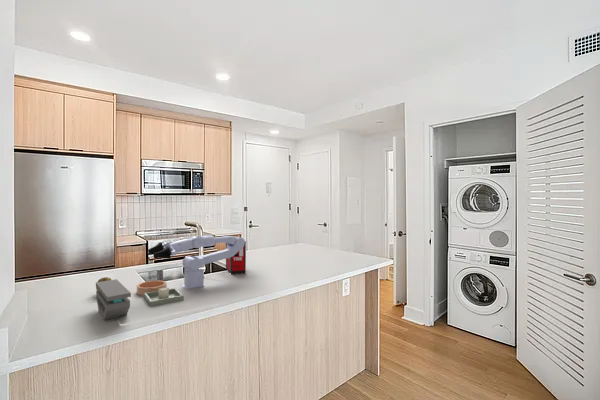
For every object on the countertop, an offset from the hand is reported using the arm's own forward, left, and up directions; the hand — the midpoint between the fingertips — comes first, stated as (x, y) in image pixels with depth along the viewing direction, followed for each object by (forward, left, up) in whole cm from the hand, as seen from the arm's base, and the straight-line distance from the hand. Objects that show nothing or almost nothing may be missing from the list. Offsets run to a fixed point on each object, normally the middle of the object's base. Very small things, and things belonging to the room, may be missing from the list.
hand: (151, 253), depth 150 cm
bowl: (-1, -4, -20) cm, 20 cm away
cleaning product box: (-54, -20, -20) cm, 61 cm away
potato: (+18, -12, -20) cm, 30 cm away
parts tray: (-3, +11, -20) cm, 23 cm away
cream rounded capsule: (-3, +11, -19) cm, 23 cm away
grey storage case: (+18, +16, -20) cm, 31 cm away
